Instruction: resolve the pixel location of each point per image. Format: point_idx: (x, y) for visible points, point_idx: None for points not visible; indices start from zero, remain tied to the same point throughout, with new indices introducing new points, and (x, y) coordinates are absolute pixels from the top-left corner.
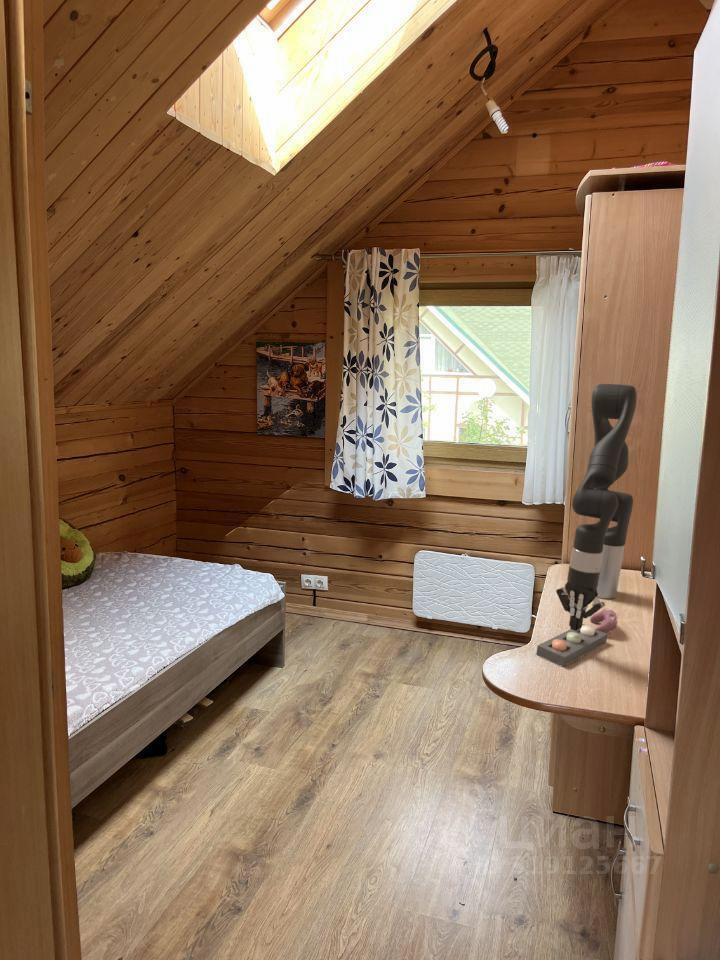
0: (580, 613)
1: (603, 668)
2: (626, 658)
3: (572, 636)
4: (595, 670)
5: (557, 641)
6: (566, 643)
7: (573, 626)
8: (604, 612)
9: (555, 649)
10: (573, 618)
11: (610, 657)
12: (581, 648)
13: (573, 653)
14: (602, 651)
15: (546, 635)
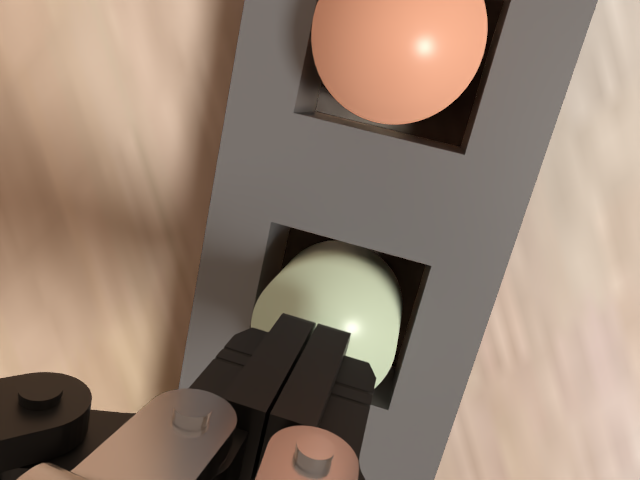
0: (114, 440)
1: (54, 104)
2: (7, 373)
3: (329, 298)
4: (82, 21)
5: (431, 45)
6: (326, 68)
7: (305, 338)
8: None
9: None
10: (295, 404)
11: (82, 321)
12: (215, 180)
13: (244, 25)
14: (154, 381)
15: (612, 399)
